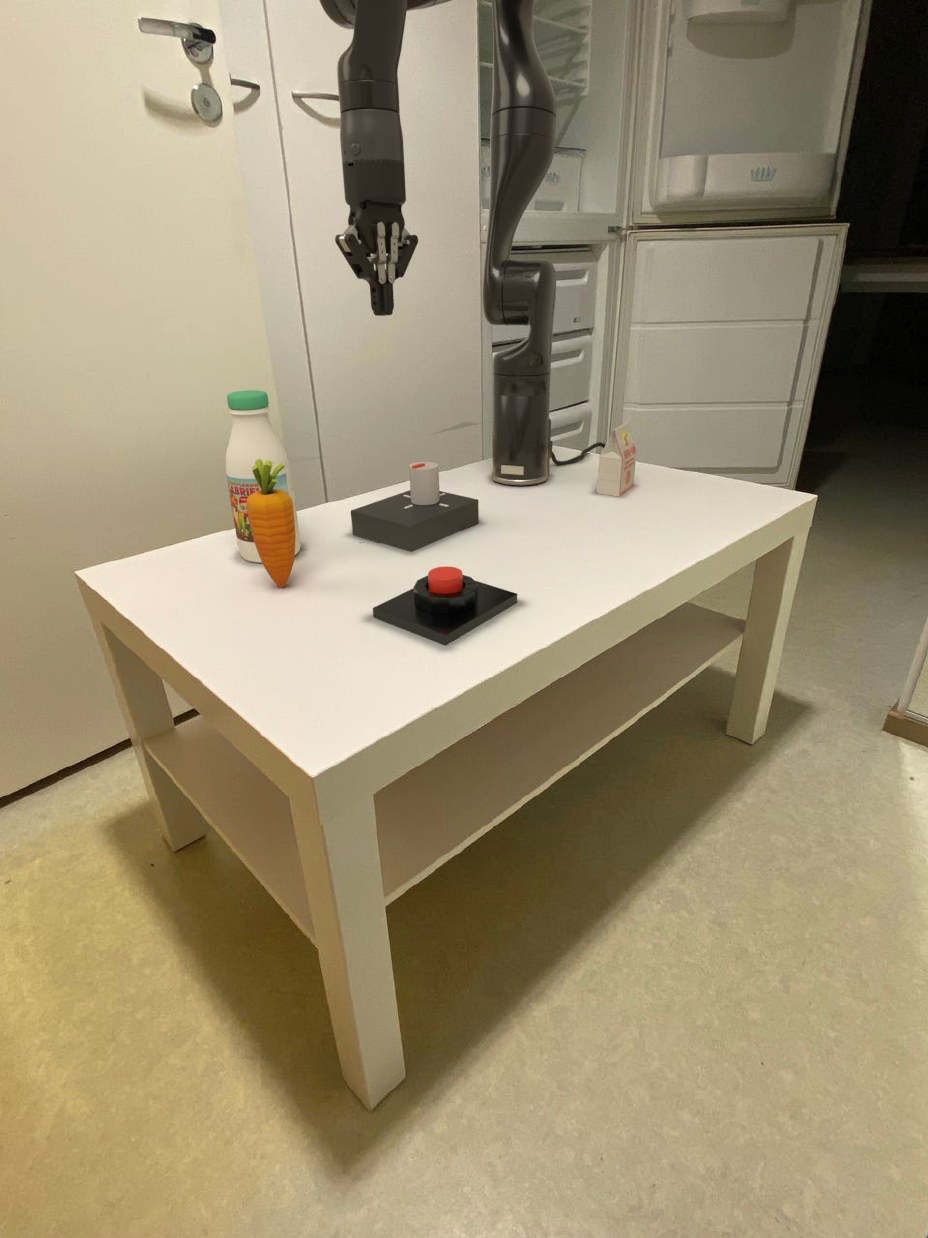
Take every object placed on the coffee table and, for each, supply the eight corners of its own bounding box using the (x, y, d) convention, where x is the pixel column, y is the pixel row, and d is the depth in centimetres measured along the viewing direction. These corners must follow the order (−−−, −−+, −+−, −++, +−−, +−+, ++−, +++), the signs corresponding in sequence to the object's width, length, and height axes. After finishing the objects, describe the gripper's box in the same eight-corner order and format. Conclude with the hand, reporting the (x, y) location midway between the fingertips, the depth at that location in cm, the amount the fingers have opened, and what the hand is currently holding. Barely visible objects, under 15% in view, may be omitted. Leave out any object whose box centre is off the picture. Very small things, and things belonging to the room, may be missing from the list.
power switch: (447, 580, 82) (446, 556, 80) (517, 603, 76) (517, 578, 75) (373, 618, 74) (370, 592, 72) (445, 646, 68) (444, 618, 66)
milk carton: (596, 493, 111) (601, 429, 107) (611, 482, 116) (616, 421, 112) (618, 496, 110) (624, 431, 105) (633, 485, 115) (639, 423, 110)
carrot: (263, 580, 83) (243, 453, 76) (306, 578, 83) (289, 451, 76) (256, 597, 78) (233, 465, 72) (300, 595, 79) (283, 463, 72)
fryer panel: (421, 508, 106) (420, 485, 104) (478, 523, 99) (478, 498, 98) (352, 534, 96) (350, 509, 95) (411, 552, 90) (409, 525, 88)
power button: (443, 578, 76) (443, 563, 75) (469, 586, 74) (469, 571, 73) (421, 589, 73) (420, 574, 73) (447, 598, 71) (447, 582, 71)
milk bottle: (250, 542, 94) (225, 387, 85) (307, 542, 94) (288, 386, 85) (231, 564, 87) (202, 398, 78) (293, 564, 87) (270, 397, 78)
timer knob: (425, 494, 100) (423, 457, 98) (445, 500, 98) (444, 462, 95) (405, 501, 98) (402, 463, 95) (425, 507, 95) (423, 468, 93)
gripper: (389, 166, 92) (397, 311, 100) (310, 157, 83) (326, 317, 91) (432, 161, 87) (437, 312, 95) (353, 151, 78) (366, 319, 86)
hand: (383, 314), depth 93 cm, fingers closed
